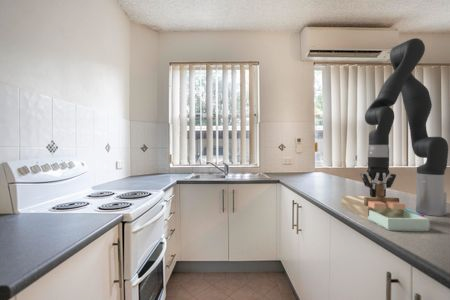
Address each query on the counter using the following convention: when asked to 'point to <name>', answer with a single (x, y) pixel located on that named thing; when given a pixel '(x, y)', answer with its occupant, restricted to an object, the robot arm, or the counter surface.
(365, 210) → the wooden board
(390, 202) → the tile
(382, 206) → the tile
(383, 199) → the wooden t-shaped block
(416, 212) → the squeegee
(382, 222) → the box
